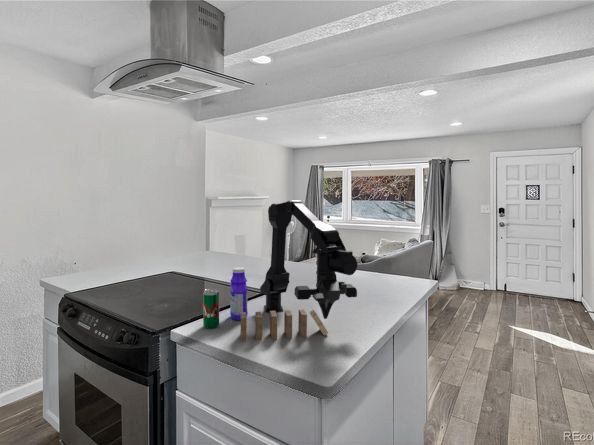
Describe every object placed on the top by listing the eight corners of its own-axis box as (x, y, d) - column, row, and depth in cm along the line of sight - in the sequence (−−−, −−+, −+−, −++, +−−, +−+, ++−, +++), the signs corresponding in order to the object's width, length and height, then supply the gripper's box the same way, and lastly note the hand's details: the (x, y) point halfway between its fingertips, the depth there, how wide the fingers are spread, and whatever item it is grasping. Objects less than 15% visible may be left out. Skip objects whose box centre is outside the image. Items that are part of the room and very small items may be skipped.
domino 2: (255, 333, 109) (255, 311, 108) (260, 333, 109) (260, 311, 109) (256, 340, 104) (256, 317, 103) (262, 340, 104) (262, 316, 104)
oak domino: (320, 329, 113) (309, 312, 112) (324, 326, 113) (313, 309, 112) (324, 335, 108) (312, 317, 107) (328, 332, 108) (316, 314, 107)
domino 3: (269, 332, 110) (270, 310, 109) (275, 332, 110) (275, 310, 109) (271, 339, 105) (271, 316, 104) (277, 339, 105) (277, 316, 105)
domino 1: (240, 334, 108) (240, 312, 107) (245, 334, 108) (245, 312, 108) (241, 341, 103) (241, 318, 103) (246, 341, 103) (246, 317, 103)
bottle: (228, 315, 125) (228, 266, 124) (244, 313, 128) (243, 265, 126) (233, 322, 119) (232, 271, 117) (249, 319, 121) (249, 269, 120)
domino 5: (298, 331, 111) (298, 309, 111) (303, 330, 112) (303, 309, 111) (301, 337, 106) (301, 314, 106) (306, 337, 107) (306, 314, 106)
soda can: (220, 323, 117) (220, 288, 116) (217, 329, 112) (217, 292, 111) (205, 323, 117) (204, 288, 116) (201, 329, 112) (201, 292, 111)
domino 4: (284, 332, 111) (284, 310, 110) (289, 331, 111) (289, 309, 110) (286, 338, 106) (286, 315, 105) (292, 338, 106) (292, 315, 105)
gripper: (301, 276, 99) (301, 330, 101) (364, 274, 103) (363, 326, 104) (294, 268, 110) (294, 316, 111) (351, 266, 114) (350, 313, 115)
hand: (325, 318), depth 110 cm, fingers closed
